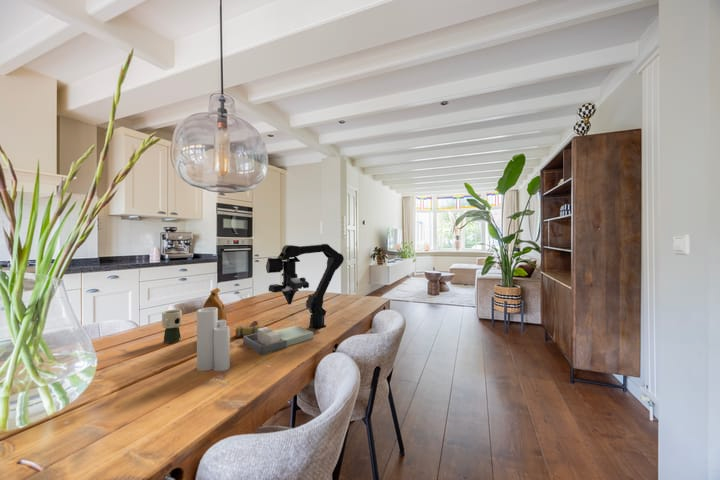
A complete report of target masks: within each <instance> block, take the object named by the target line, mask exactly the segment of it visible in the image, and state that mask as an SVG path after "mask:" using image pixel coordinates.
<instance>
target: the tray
mask: <svg viewBox="0 0 720 480" xmlns="http://www.w3.org/2000/svg"><path fill="white" fill-rule="evenodd" d="M242 337H243V338H242V340H243V342H242V343H243V345H245V346H246V347H248V348H250V349H251V350H253V351H254V352H255V353H257V354H259V355H261V356H264V355H266V354H267V355H268V354H271V353H273V352H278V351H280V350H283V349H286V348H287V347H288V346H287V340H283V341H280V342H276V343H273V344H269V345H266V346H265V343H261V342H259V341H258V333H255V334H251V335H247V336H242Z"/></svg>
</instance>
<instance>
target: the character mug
mask: <svg viewBox="0 0 720 480" xmlns="http://www.w3.org/2000/svg"><path fill="white" fill-rule="evenodd" d="M182 312H183V311H182V310H181V309H170V310H165V311H163V312H162V313H161V326H162V328H163V329H165V330H164V334H163V343H169V344H172V343H176V342H179V341H180V340H181V332H180V331H181V330H180V327H181V326H182V323H183V322H182V316H183V313H182Z"/></svg>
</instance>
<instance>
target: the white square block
mask: <svg viewBox="0 0 720 480" xmlns="http://www.w3.org/2000/svg"><path fill="white" fill-rule="evenodd" d="M270 332H272V329H271V328H270V327H267V326H264V327H260V329H258V341H259V342H261V343H265V334H266V333H270Z"/></svg>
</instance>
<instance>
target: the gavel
mask: <svg viewBox="0 0 720 480" xmlns="http://www.w3.org/2000/svg"><path fill="white" fill-rule="evenodd" d="M258 323H259V322H258V321H256V320H254V321H253V322H252V323H251V324H250V325H249V326H244V327H243V326H237V327H236V329H235V337H236V338H241V337H243V336H247V335H251V334H255V333H258V329H260V328H261V325H258Z"/></svg>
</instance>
